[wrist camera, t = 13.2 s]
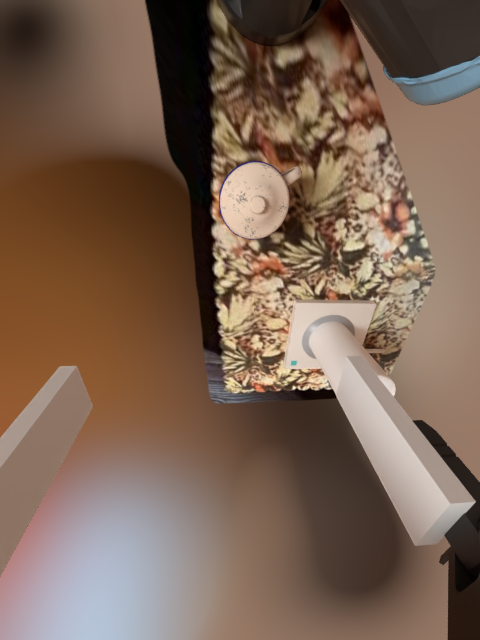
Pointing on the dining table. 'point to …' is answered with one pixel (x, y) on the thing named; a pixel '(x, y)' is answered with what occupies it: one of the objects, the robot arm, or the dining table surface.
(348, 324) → the pad
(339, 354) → the cup
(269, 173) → the teacup with lid
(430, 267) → the dining table surface
